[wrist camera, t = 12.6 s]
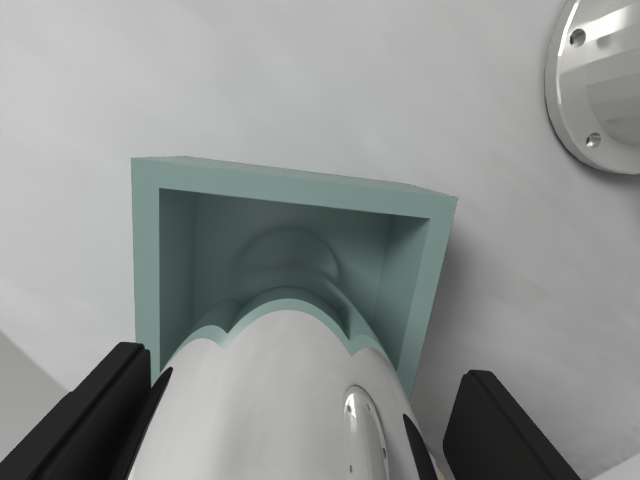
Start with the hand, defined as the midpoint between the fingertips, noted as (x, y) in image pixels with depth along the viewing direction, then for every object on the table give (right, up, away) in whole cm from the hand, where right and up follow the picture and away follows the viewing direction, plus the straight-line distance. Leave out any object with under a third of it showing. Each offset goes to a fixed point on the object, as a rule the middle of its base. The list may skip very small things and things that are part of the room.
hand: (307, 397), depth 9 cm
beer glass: (-2, +3, +10) cm, 10 cm away
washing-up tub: (-2, +2, +11) cm, 11 cm away
